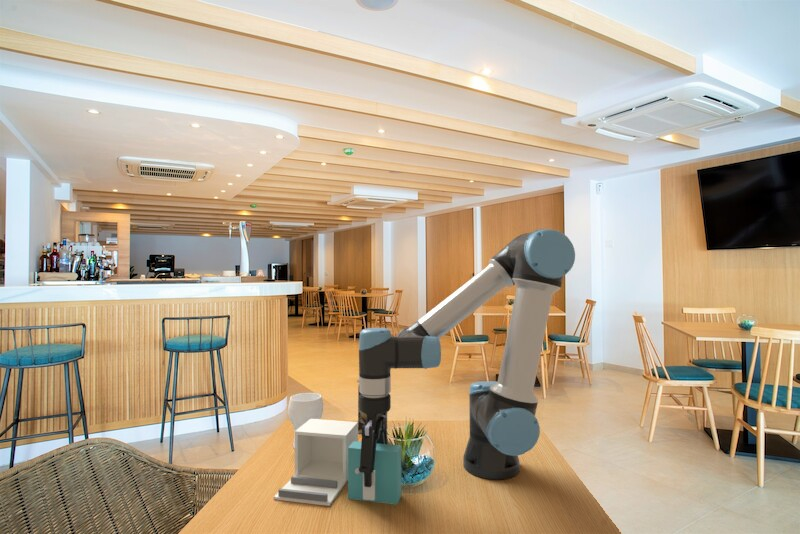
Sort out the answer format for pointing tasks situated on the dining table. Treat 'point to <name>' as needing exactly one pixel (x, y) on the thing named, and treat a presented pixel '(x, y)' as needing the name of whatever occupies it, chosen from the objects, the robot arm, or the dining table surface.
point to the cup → (304, 409)
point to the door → (376, 473)
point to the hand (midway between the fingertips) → (374, 488)
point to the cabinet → (320, 461)
